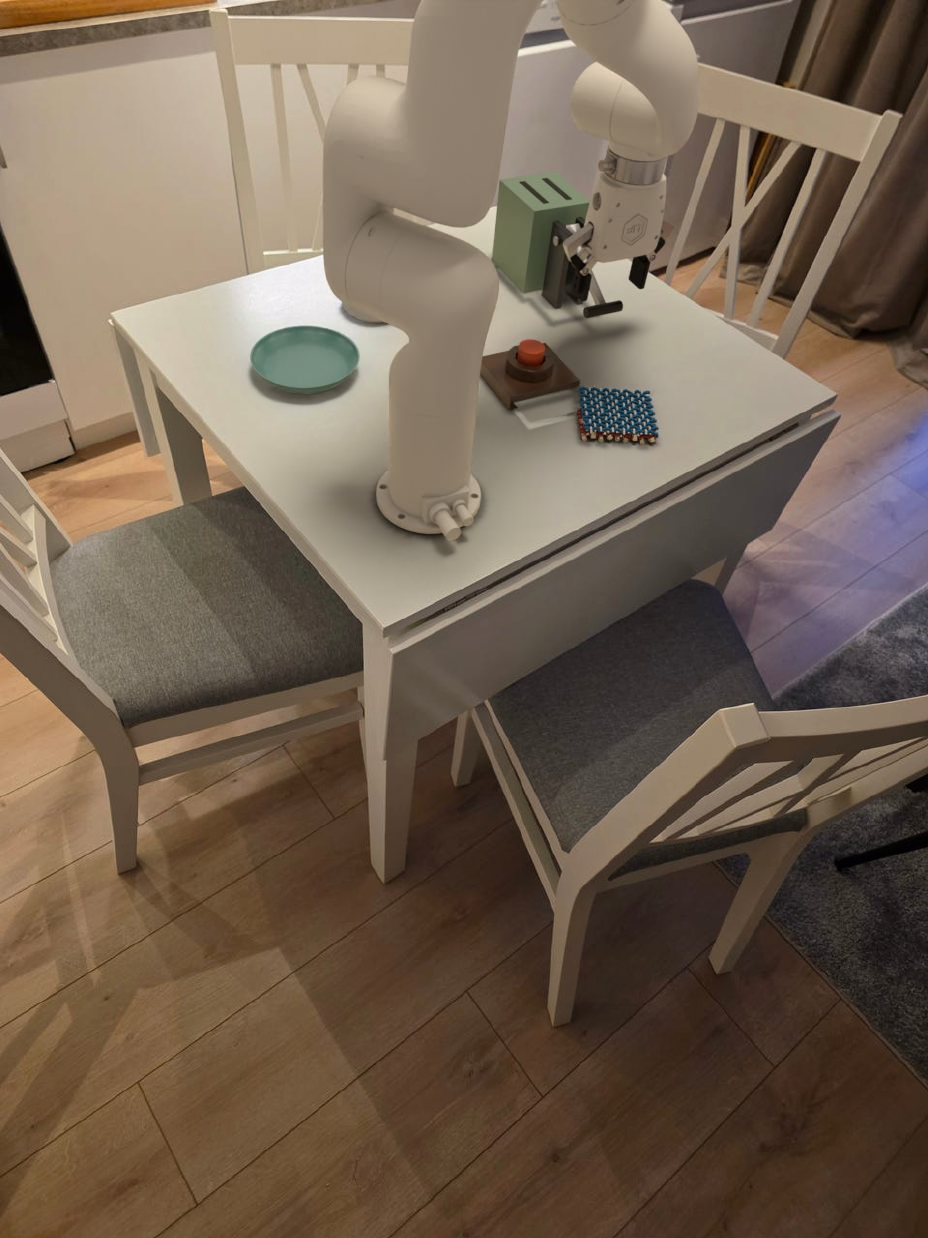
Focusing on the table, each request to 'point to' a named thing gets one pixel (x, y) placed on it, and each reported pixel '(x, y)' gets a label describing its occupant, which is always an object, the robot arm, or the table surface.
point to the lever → (596, 291)
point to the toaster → (532, 224)
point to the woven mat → (616, 415)
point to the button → (531, 352)
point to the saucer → (305, 358)
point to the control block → (525, 376)
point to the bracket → (559, 267)
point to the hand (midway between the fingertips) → (607, 290)
